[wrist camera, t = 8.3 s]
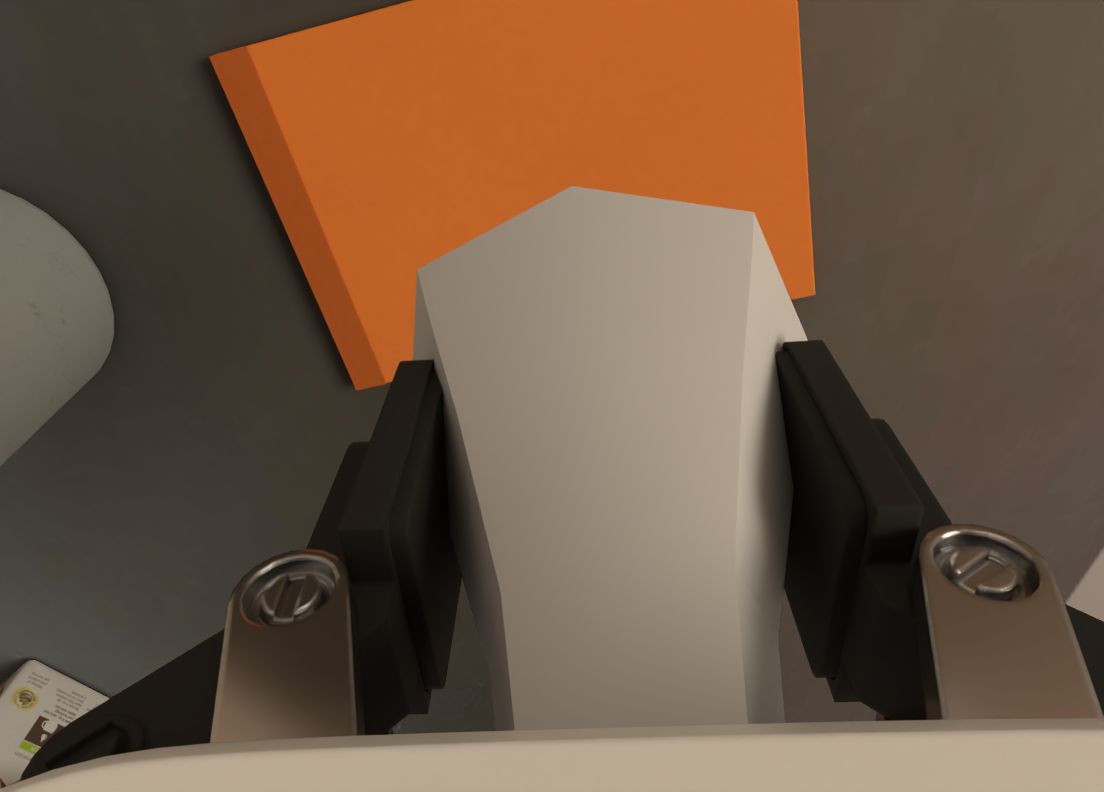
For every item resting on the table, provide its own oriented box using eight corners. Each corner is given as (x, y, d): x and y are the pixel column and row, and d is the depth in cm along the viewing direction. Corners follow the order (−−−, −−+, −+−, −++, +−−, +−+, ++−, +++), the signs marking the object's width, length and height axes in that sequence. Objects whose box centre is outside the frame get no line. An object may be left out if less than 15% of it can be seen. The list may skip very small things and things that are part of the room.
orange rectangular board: (215, 54, 27) (208, 56, 26) (787, -104, 24) (792, -105, 24) (359, 383, 34) (356, 390, 33) (812, 290, 31) (816, 296, 31)
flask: (808, 138, 11) (1512, 765, 3) (809, 502, 15) (1120, 1235, 7) (350, 219, 12) (-136, 904, 4) (460, 547, 16) (343, 1254, 8)
